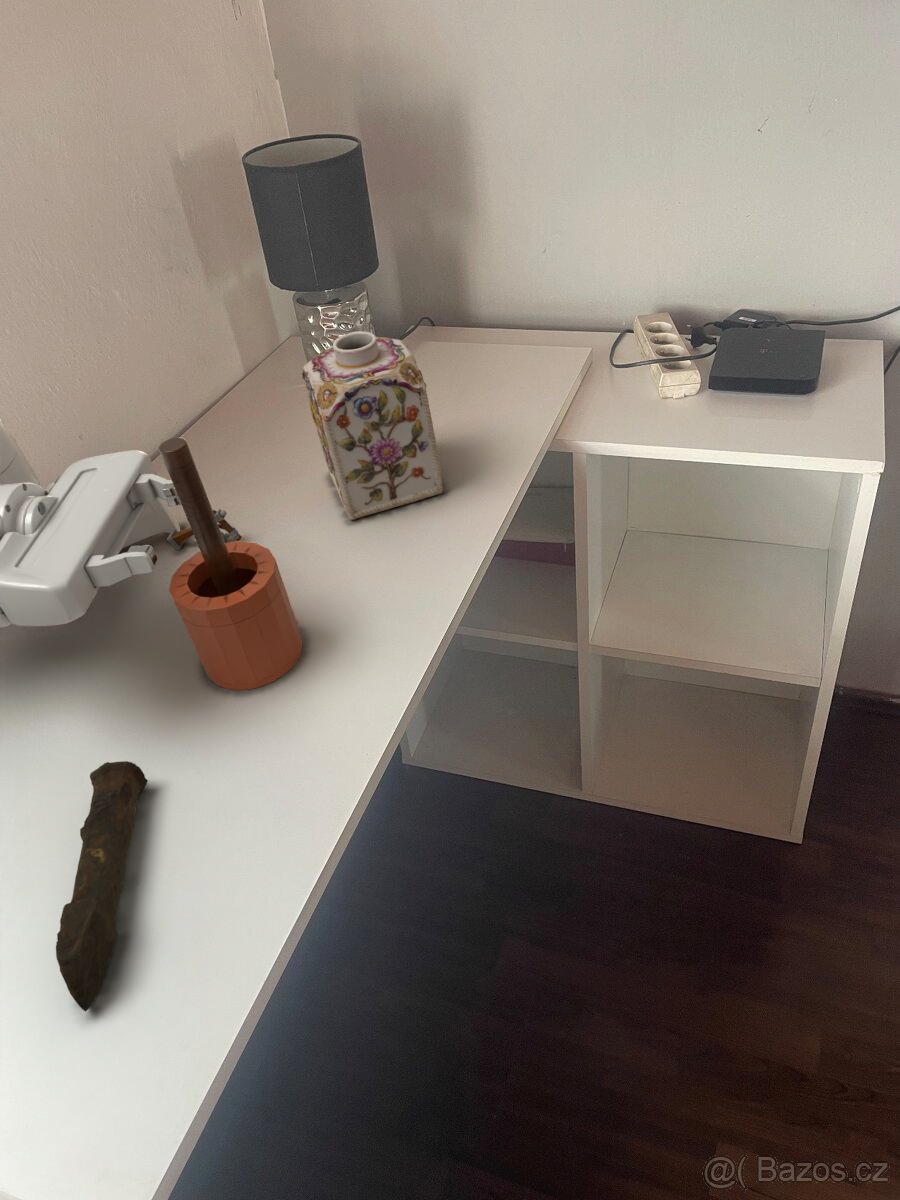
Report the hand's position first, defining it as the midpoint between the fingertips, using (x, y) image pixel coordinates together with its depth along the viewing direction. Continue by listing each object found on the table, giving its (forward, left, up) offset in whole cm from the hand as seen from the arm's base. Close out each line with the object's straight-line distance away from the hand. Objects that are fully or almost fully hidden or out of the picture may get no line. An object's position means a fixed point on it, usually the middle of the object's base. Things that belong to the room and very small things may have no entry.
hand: (170, 523), depth 72 cm
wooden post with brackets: (-17, +11, -16) cm, 26 cm away
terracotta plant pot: (+2, +2, -16) cm, 16 cm away
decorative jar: (-7, +30, -16) cm, 35 cm away
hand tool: (+12, -21, -16) cm, 29 cm away
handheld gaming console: (-26, +4, -16) cm, 31 cm away
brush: (+1, +2, -15) cm, 15 cm away
